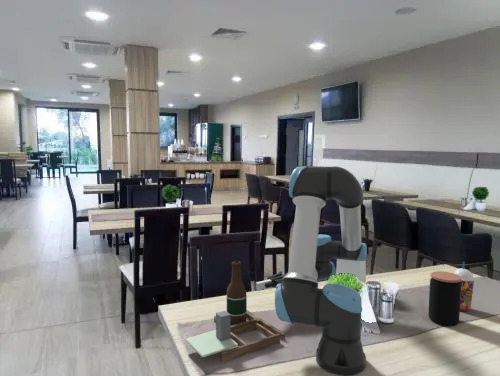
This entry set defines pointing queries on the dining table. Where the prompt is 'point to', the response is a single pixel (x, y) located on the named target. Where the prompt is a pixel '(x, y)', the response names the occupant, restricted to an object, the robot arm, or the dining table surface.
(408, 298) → the dining table surface
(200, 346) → the cover
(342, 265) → the milk
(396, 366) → the dining table surface
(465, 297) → the smoothie
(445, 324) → the coffee jar
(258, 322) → the brown flat frame
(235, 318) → the beer bottle
